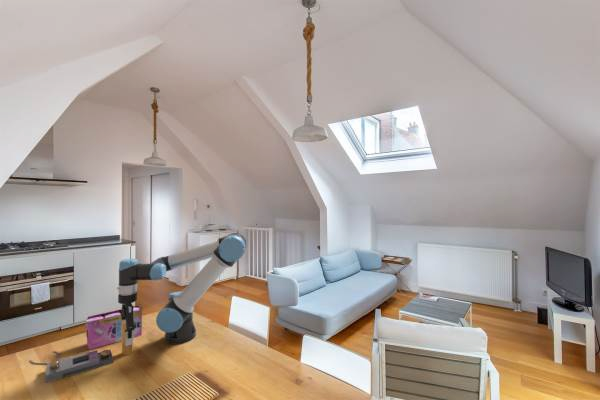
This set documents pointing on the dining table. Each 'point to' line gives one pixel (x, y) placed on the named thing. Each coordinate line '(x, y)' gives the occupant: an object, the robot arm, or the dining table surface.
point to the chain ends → (77, 364)
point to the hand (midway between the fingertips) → (126, 338)
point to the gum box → (110, 327)
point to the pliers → (46, 363)
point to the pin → (125, 349)
